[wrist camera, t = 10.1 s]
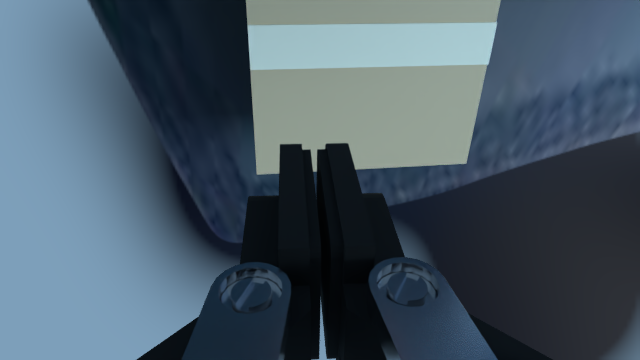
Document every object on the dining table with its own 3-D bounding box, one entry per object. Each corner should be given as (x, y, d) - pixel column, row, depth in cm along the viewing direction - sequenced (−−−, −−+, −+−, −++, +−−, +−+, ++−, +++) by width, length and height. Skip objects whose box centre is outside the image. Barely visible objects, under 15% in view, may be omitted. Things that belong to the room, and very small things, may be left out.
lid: (518, -121, 23) (527, -122, 22) (461, 158, 31) (467, 164, 30) (238, -130, 21) (237, -131, 20) (256, 169, 29) (256, 175, 28)
